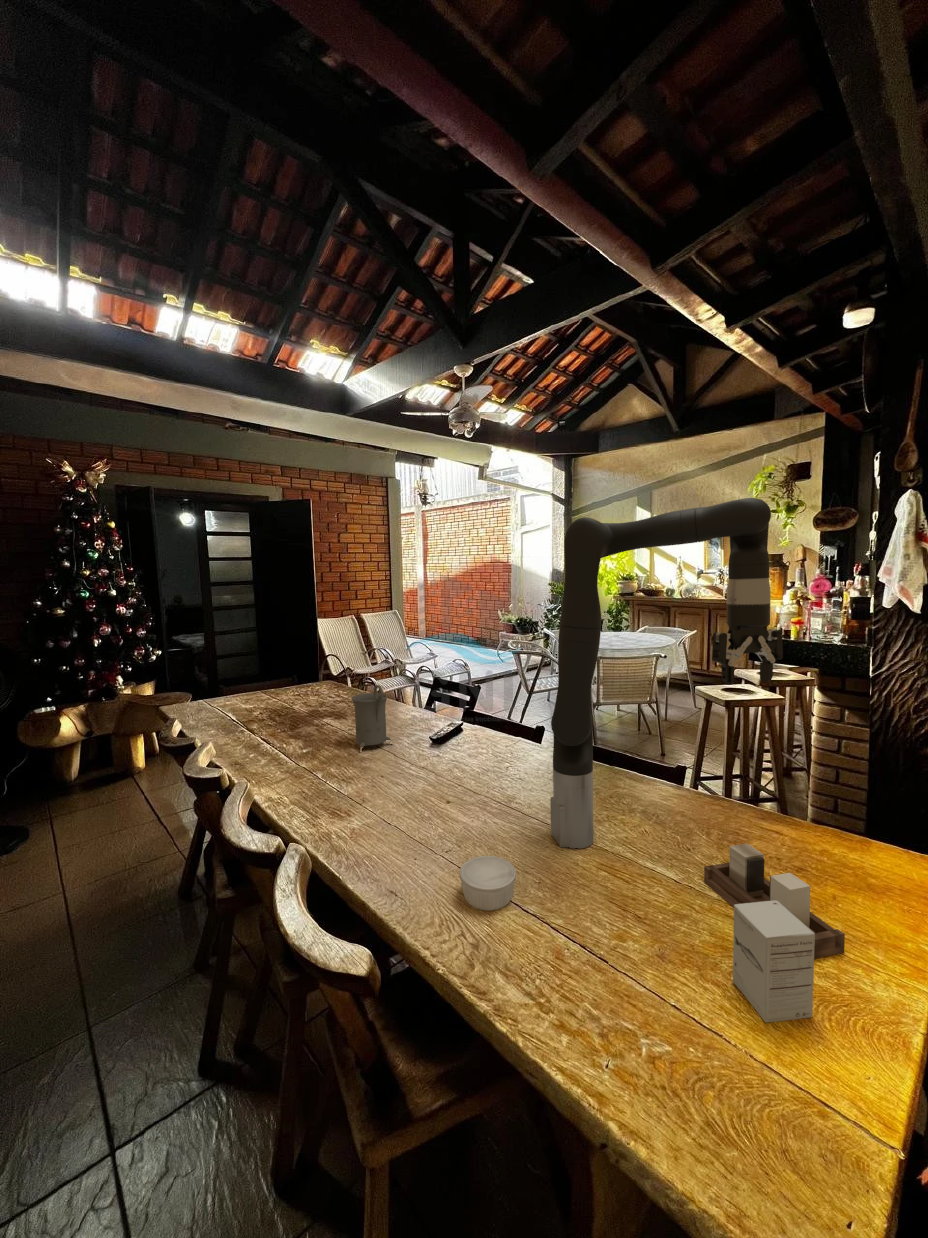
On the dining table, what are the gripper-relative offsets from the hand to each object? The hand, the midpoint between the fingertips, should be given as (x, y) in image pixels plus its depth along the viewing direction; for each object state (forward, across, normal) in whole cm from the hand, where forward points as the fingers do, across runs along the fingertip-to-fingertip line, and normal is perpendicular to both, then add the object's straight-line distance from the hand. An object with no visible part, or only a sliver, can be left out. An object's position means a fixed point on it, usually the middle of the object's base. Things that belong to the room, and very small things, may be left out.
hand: (747, 682), depth 99 cm
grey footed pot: (+40, -74, +105) cm, 135 cm away
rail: (+40, -5, -11) cm, 42 cm away
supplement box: (+40, -19, -27) cm, 52 cm away
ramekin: (+40, -53, +6) cm, 67 cm away
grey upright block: (+39, -5, -16) cm, 42 cm away
